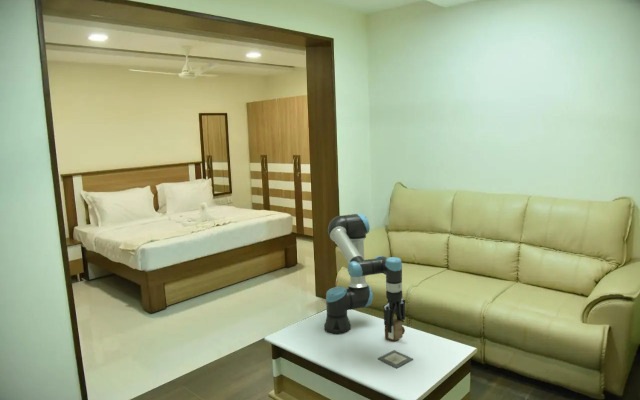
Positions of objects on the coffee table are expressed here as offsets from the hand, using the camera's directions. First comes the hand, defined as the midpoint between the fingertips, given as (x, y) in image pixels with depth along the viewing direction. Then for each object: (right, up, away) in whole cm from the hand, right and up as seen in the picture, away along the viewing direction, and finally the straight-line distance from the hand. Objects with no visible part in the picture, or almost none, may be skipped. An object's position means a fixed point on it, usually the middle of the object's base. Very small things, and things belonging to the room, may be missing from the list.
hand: (395, 336), depth 213 cm
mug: (+4, -9, +22) cm, 25 cm away
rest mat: (0, -12, +2) cm, 12 cm away
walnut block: (0, 0, 0) cm, 0 cm away
